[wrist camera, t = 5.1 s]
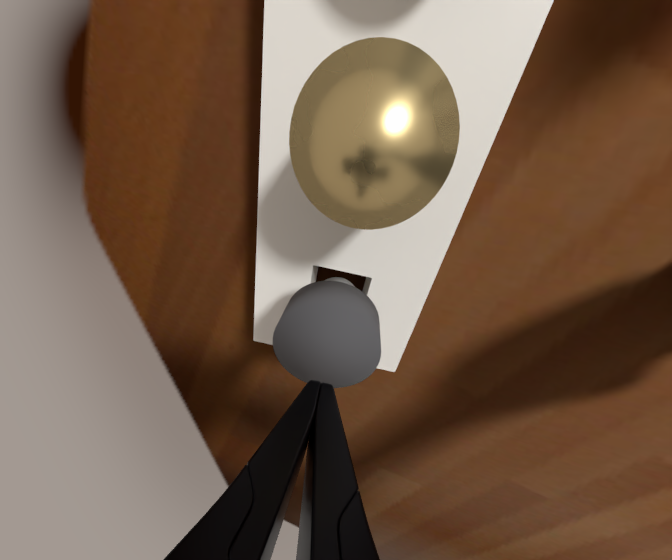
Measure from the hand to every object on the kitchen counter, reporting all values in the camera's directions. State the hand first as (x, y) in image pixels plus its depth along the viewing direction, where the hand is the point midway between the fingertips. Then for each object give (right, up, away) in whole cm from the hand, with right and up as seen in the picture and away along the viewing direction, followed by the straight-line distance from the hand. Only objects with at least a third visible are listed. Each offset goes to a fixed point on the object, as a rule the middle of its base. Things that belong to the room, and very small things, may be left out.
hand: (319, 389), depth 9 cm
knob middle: (+2, +10, +2) cm, 10 cm away
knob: (+1, +3, +6) cm, 7 cm away
